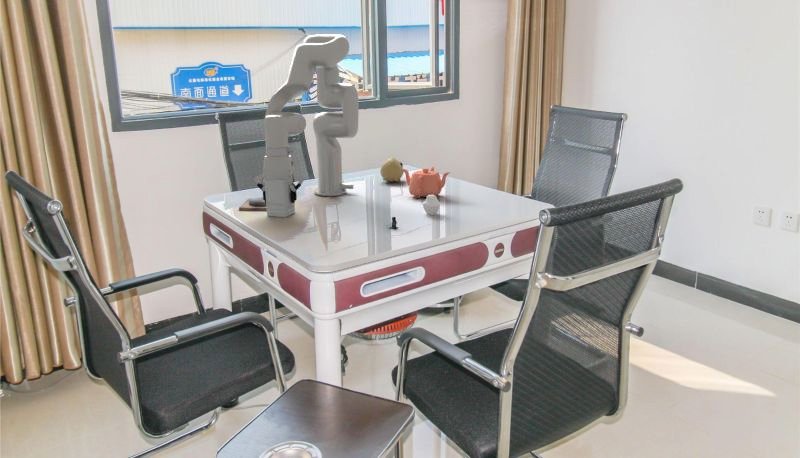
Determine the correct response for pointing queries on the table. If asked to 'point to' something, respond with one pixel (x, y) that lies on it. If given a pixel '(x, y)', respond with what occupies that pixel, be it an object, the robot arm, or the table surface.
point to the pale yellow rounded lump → (392, 170)
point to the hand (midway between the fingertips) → (280, 202)
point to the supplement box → (278, 198)
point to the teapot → (425, 182)
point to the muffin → (431, 205)
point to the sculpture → (393, 224)
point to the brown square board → (254, 204)
